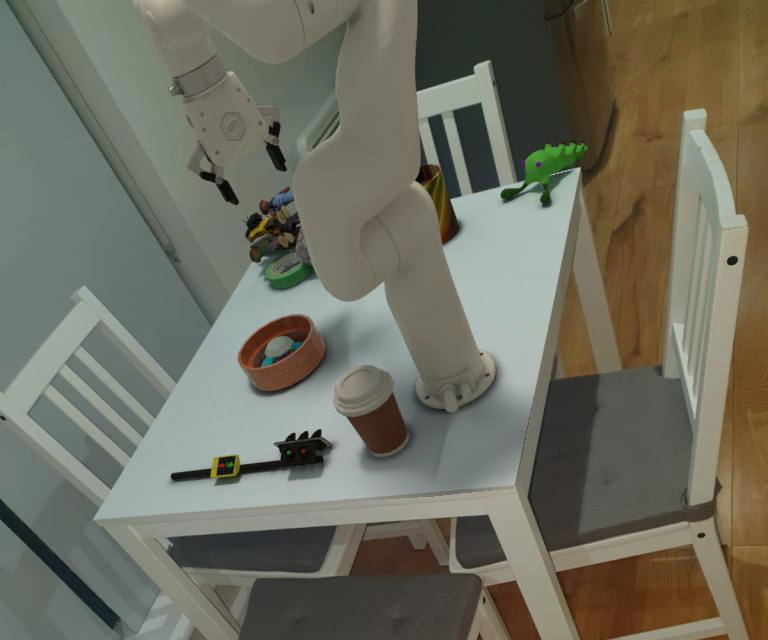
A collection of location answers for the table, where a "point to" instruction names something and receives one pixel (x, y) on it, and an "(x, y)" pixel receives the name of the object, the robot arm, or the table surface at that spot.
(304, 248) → the stone
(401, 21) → the robot arm
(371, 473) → the table surface
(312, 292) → the table surface
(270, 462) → the miniature traffic light
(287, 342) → the ornament
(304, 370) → the bowl
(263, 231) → the doll family
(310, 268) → the tape roll
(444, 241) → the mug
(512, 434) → the table surface
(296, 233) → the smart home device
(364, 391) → the cocoa
